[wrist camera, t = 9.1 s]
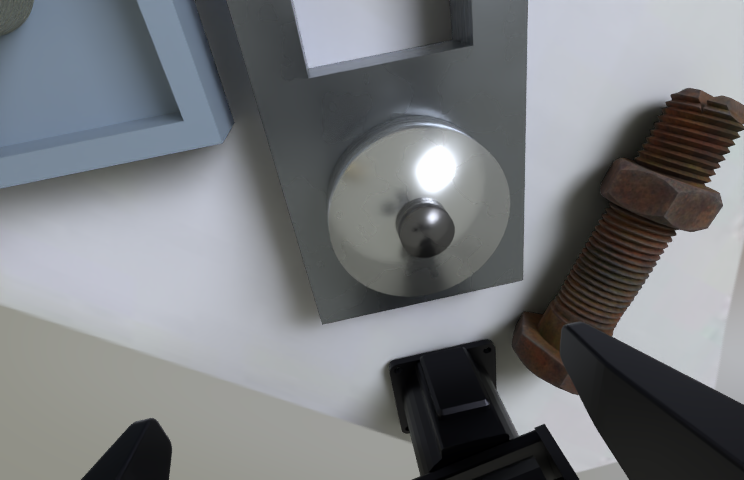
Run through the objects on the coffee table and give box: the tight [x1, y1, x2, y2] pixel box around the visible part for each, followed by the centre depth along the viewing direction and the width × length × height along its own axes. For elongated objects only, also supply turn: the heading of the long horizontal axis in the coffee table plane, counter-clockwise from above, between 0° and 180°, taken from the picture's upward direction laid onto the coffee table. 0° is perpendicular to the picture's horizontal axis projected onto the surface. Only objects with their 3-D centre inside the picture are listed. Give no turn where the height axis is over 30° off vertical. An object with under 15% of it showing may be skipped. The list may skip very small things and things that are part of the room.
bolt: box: [512, 88, 744, 395], centre depth 21 cm, size 6×5×15 cm
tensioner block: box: [226, 0, 528, 325], centre depth 16 cm, size 18×10×6 cm, turn 10°
